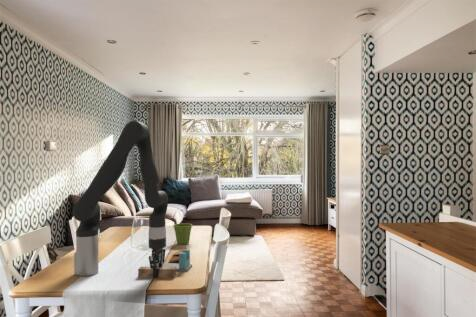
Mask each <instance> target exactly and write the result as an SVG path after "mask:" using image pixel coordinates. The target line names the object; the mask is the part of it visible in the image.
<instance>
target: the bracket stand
mask: <svg viewBox="0 0 476 317" xmlns="http://www.w3.org/2000/svg"><path fill="white" fill-rule="evenodd" d="M190 252H191V250H190V249H187V250H183V253H179V264H177V263H168V262H164V263H163V265H162V267H176V272H188V271H189V270H190V269H191V268H192V267H193V264H191V253H190ZM156 265H157V263H156Z"/></svg>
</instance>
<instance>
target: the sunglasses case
mask: <svg viewBox="0 0 476 317" xmlns="http://www.w3.org/2000/svg"><path fill="white" fill-rule="evenodd" d="M183 250H188V249H187V248H185V247H183V248H181V249H179V250H177V251H175V253H173V254H172V256H170V259H169V261H168V262H167V263H177V264H179V253H183Z"/></svg>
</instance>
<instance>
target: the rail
mask: <svg viewBox="0 0 476 317" xmlns="http://www.w3.org/2000/svg"><path fill="white" fill-rule="evenodd" d="M137 272H138V273H137V275H138V276H137V278H154V277H153V269H151V268H150V266H140V267H138V270H137ZM176 276H177V271H176V267H158V277H157V278H165V279H166V278H171V279H172V278H174V279H175V278H176Z"/></svg>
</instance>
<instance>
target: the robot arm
mask: <svg viewBox="0 0 476 317" xmlns="http://www.w3.org/2000/svg"><path fill="white" fill-rule="evenodd" d="M135 145H136V147H137V151H138V154H139V169H140V171H139V172H140V174H141V178H142V181H143V184H144V187H143V188H144V200H145V203H146V205H147V206H148V207H149V208H151V209H153V210H152V212H151V213H150V214H149V215H148V248H149V249H151V255H149V256H148V262H149V267H150V268H151V269H153V277H152V278H159V277H158V267H162V265H163V263H165V260H166V258H165V256H166V249H165V248H166V247H167V229H166V214H167V212H168V204H169V196H168V194H167V192H165V191H164V190H158V189H159V188H158V186H159V184H160V182H161V179H160V175H159V172H158V169H157V166H156V162H155V158H154V154H153V148H152V142H151V133H150V129H149V126H148V125H146V123H143V122H142V121H138V120H130V121H129V122H127V123H126V124H125V125H124V128H123V129H122V131H121V133H120V135H119V137H118V139H117V141H116V143H115V145H114V146H113V147H112V149H111V151H110V153H109V154H108V156H107V157H106V158H105V160H104V161H103V163H102V165H101V166H100V167H99V169H98V171H97V173H96V175H95V176H94V177H93V178H92V181H91V182H90V184H89V186H88V188H86V190H85V192H84V193H83V194H82V195H81V197H80V198H79V199H78V200H77V201H76V203H75V205H74V206H73V207H72V216H73V218H74V219H75V220H76V221H78V222H79V225H78V227H77V228H76V231H75V239H76V240H75V241H76V243H75V249H76V251H75V252H74V254H73V257H74V258H73V260H74V261H73V263H74V264H73V266H74V267H73V270H74V271H73V272H74V273H73V274H74V275H77V276H80V277H88V276H93V275H96V274H98V273H99V230H100V226H101V207H100V204H99V202H100V200H101V198H103V196H104V195H106V193H107V192H108V191H110V189H112V187H114V186H115V184H116V183H117V182H118V180H119V179H120V177H122V174H123V172H124V170H125V169H126V166H127V161H128V156H129V154H130V153H131V150H133V148H134V146H135ZM156 263H157V265H156Z"/></svg>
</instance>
